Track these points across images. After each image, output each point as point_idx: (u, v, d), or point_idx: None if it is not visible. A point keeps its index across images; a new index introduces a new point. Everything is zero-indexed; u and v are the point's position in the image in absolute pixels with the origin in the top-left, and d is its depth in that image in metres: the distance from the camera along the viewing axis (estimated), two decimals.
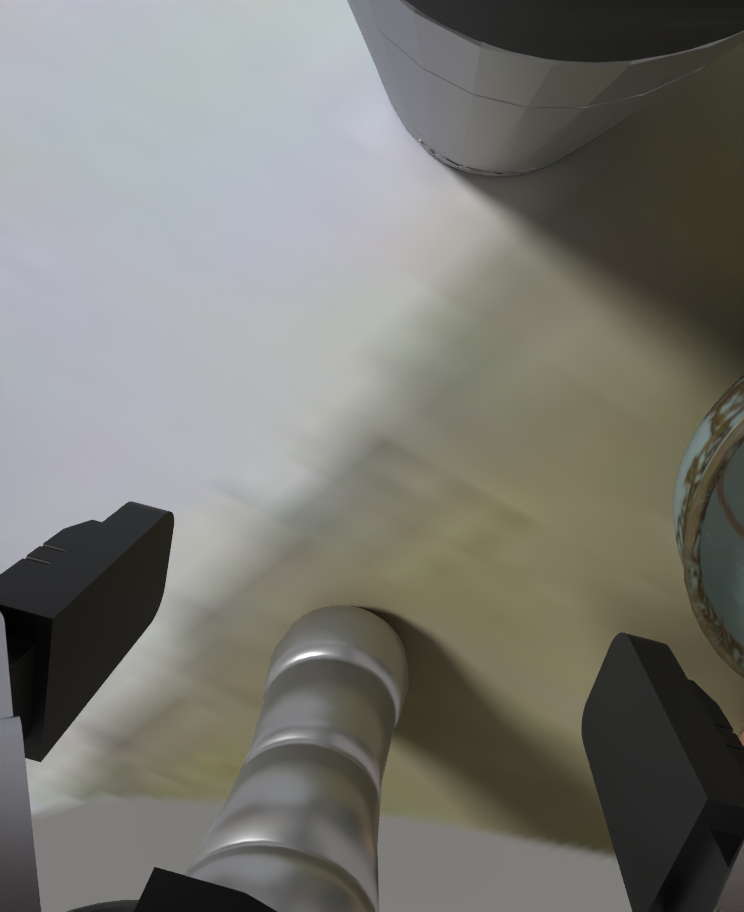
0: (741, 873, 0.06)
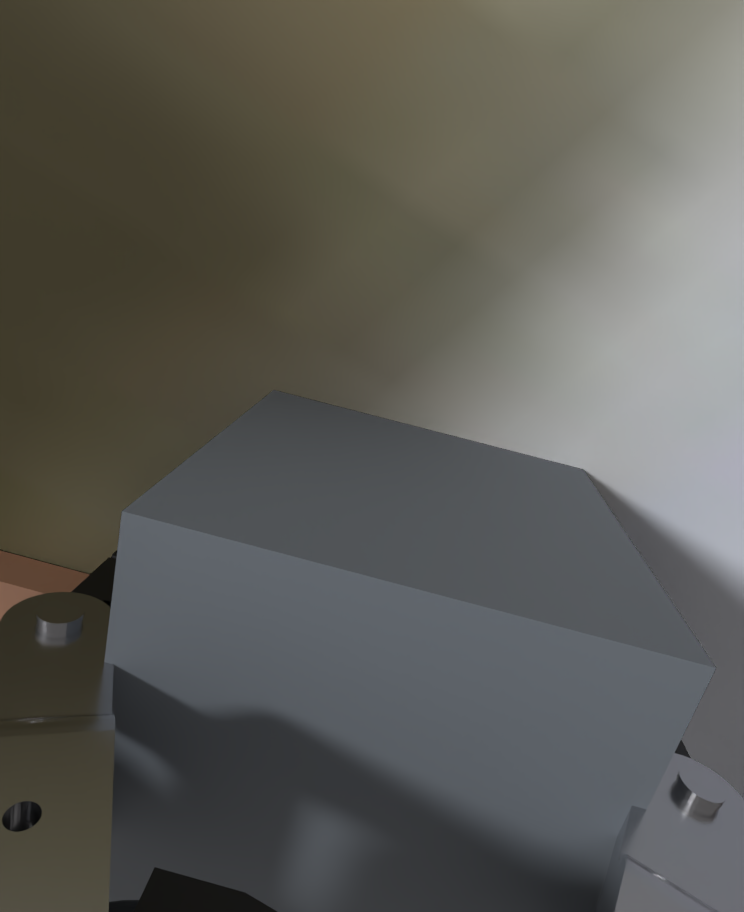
0: None
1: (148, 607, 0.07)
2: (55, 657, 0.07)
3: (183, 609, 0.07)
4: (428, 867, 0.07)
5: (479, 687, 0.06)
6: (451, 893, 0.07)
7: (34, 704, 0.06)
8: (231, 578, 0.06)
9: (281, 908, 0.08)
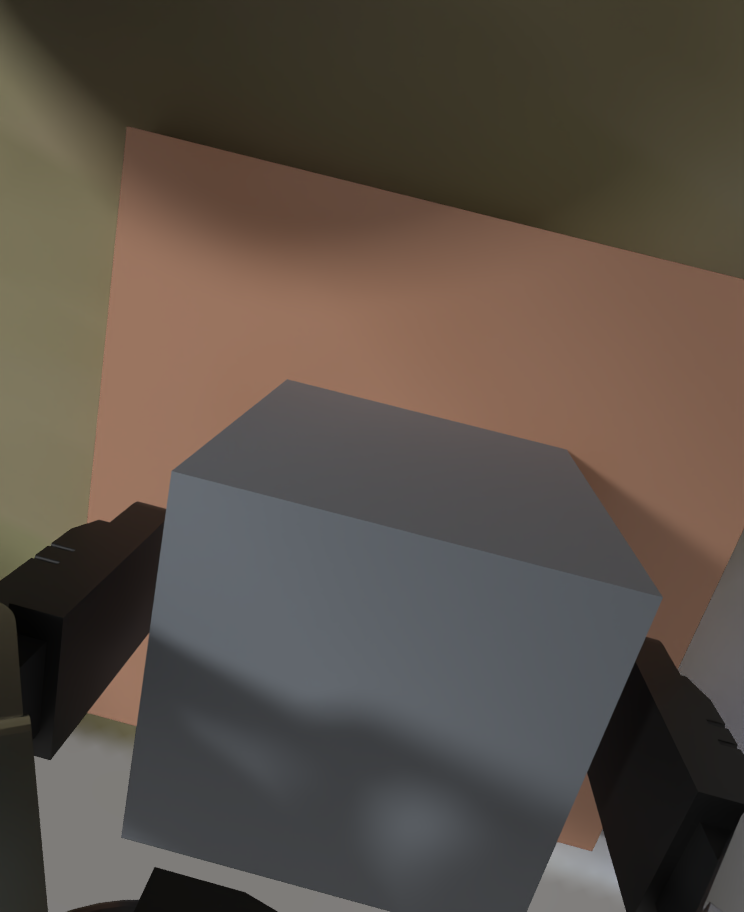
0: (729, 865, 0.06)
1: (192, 553, 0.08)
2: None
3: (221, 554, 0.08)
4: (427, 777, 0.09)
5: (469, 616, 0.08)
6: (446, 799, 0.09)
7: None
8: (262, 527, 0.08)
9: (301, 817, 0.09)
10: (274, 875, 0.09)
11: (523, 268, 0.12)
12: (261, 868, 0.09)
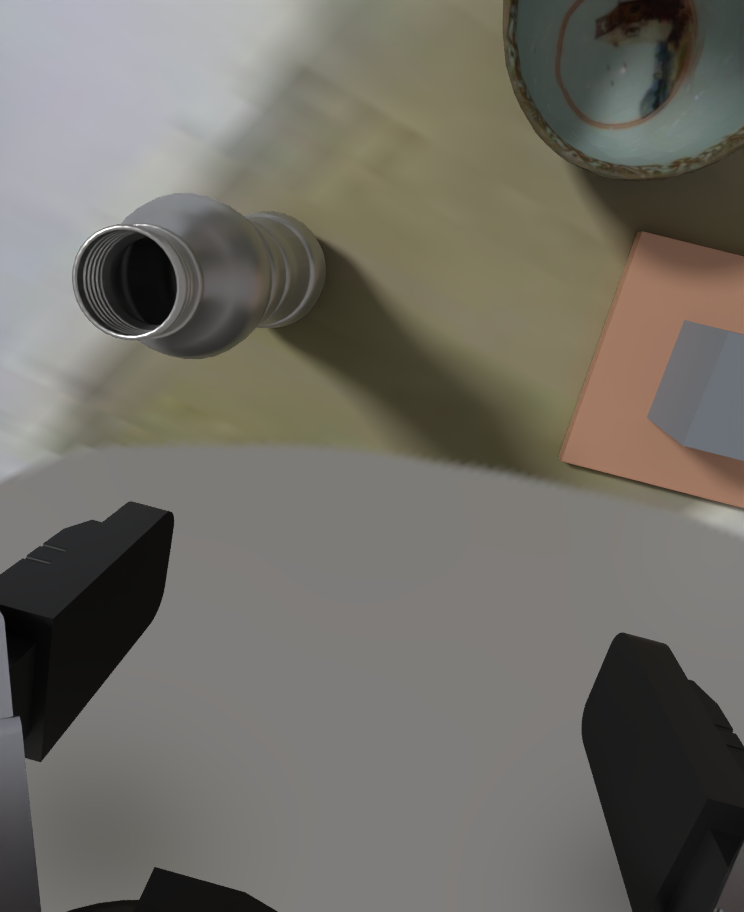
0: (742, 873, 0.06)
1: (728, 353, 0.31)
2: None
3: (736, 353, 0.31)
4: None
5: None
6: None
7: None
8: None
9: (740, 434, 0.32)
10: (728, 455, 0.33)
11: None
12: (723, 453, 0.33)
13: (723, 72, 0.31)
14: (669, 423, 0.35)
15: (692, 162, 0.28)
